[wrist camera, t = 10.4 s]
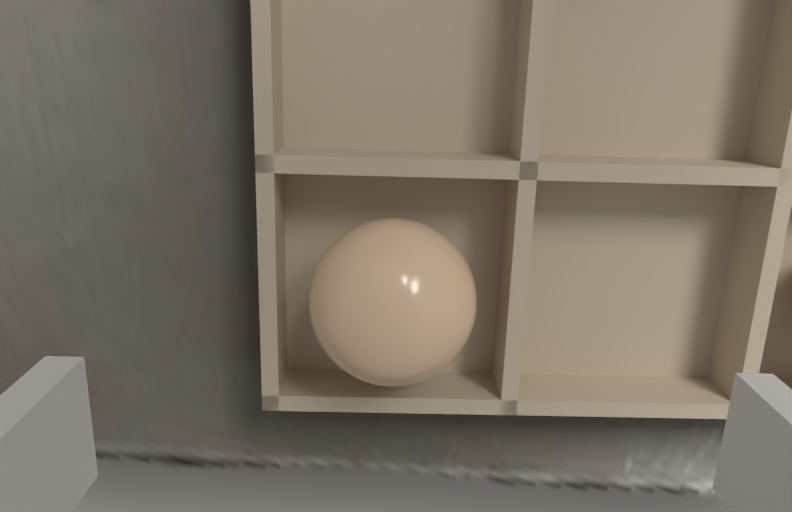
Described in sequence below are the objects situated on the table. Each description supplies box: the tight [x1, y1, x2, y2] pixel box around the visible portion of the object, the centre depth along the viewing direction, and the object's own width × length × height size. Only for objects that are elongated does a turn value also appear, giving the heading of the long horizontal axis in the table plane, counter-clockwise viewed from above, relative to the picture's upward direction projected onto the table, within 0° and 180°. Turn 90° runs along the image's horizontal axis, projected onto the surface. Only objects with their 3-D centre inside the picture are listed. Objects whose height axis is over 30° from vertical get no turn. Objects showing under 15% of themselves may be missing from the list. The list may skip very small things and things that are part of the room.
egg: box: [308, 218, 477, 386], centre depth 22 cm, size 6×6×6 cm
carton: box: [250, 0, 792, 419], centre depth 23 cm, size 18×26×3 cm
